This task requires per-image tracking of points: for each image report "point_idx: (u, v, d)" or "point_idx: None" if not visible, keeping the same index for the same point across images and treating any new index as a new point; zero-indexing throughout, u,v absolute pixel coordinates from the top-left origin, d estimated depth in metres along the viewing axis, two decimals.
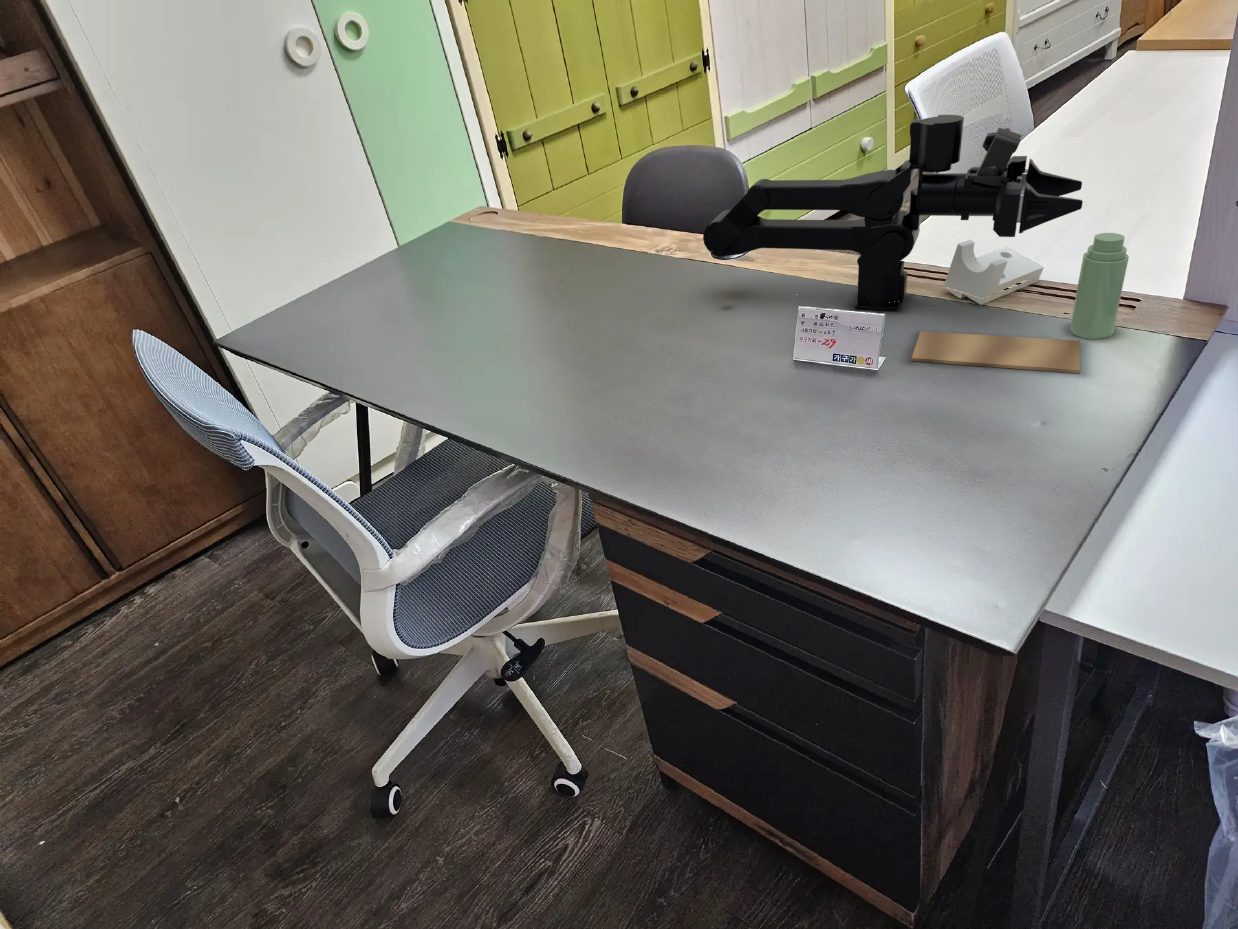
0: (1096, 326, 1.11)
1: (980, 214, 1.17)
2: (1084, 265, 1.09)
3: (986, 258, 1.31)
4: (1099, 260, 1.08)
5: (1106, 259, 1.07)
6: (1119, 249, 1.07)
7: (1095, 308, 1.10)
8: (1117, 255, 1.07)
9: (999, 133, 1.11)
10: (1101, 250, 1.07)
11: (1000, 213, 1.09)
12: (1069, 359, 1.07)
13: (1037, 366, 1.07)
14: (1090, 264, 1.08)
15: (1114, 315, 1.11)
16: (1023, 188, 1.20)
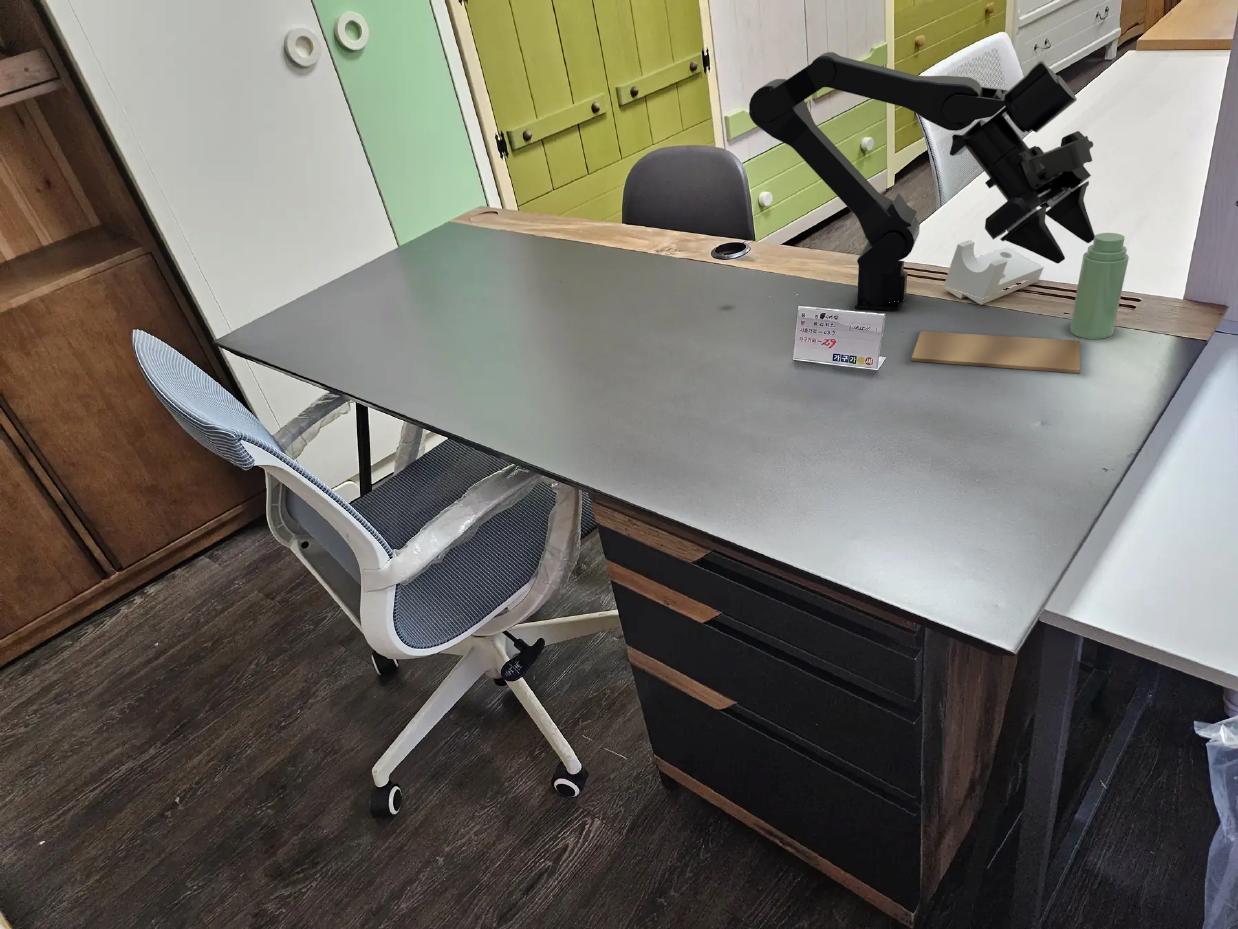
0: (1096, 326, 1.11)
1: (1001, 192, 1.14)
2: (1084, 265, 1.09)
3: (986, 258, 1.31)
4: (1099, 260, 1.08)
5: (1106, 259, 1.07)
6: (1119, 249, 1.07)
7: (1095, 308, 1.10)
8: (1117, 255, 1.07)
9: (1074, 144, 1.05)
10: (1101, 250, 1.07)
11: (1000, 212, 1.07)
12: (1069, 359, 1.07)
13: (1037, 366, 1.07)
14: (1090, 264, 1.08)
15: (1114, 315, 1.11)
16: (1058, 200, 1.16)
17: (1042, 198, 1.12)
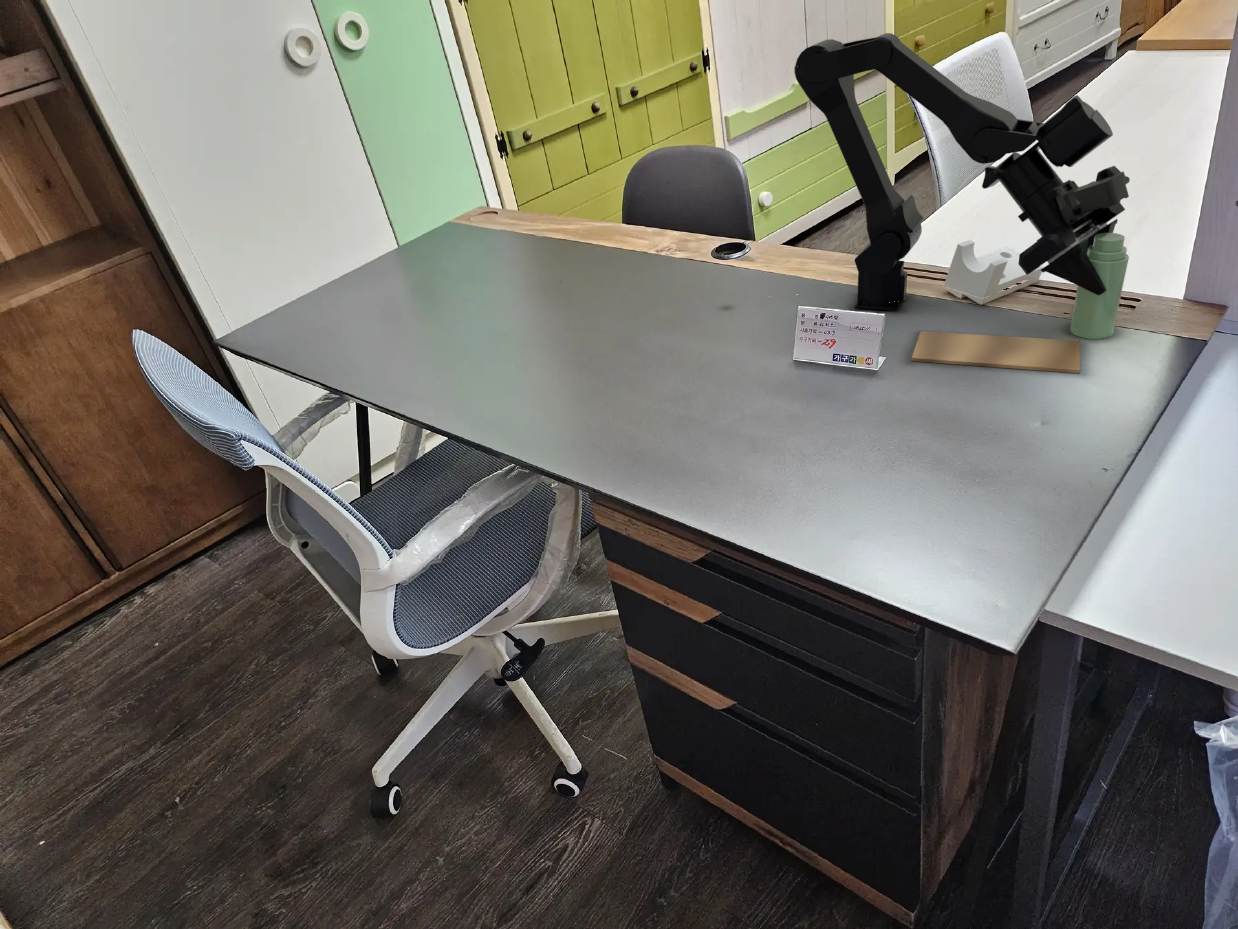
0: (1096, 326, 1.11)
1: (1034, 226, 1.12)
2: None
3: (986, 258, 1.31)
4: (1099, 260, 1.08)
5: (1106, 259, 1.07)
6: (1119, 249, 1.07)
7: (1095, 308, 1.10)
8: (1117, 255, 1.07)
9: (1111, 181, 1.03)
10: (1101, 250, 1.07)
11: (1035, 248, 1.06)
12: (1069, 359, 1.07)
13: (1037, 366, 1.07)
14: None
15: (1114, 315, 1.11)
16: (1085, 237, 1.13)
17: (1076, 233, 1.11)
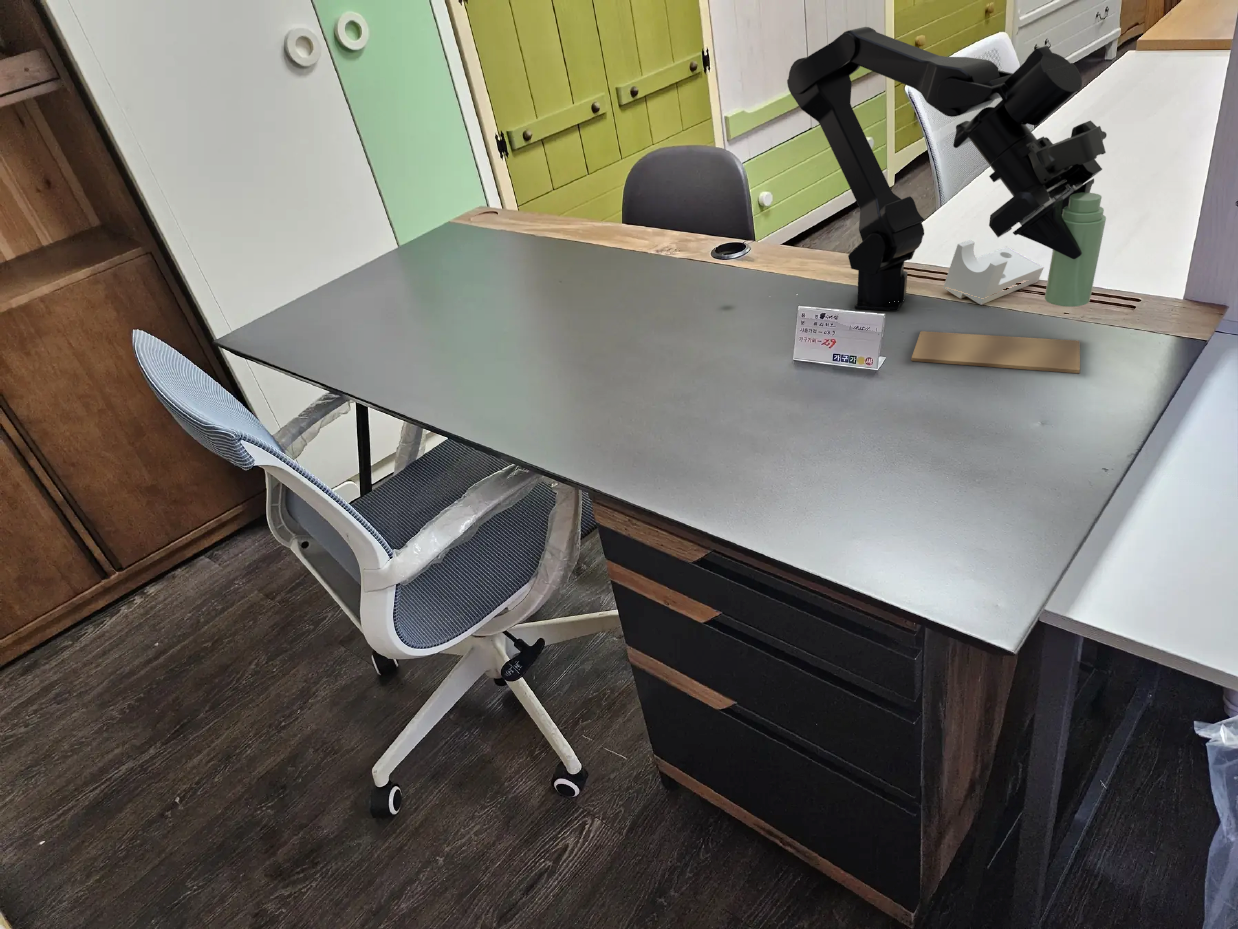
0: (1071, 293, 1.05)
1: None
2: None
3: (986, 258, 1.31)
4: (1075, 221, 1.01)
5: (1082, 220, 1.01)
6: (1096, 209, 1.00)
7: (1070, 273, 1.04)
8: (1094, 216, 1.00)
9: (1087, 135, 0.97)
10: (1077, 210, 1.01)
11: (1006, 208, 0.99)
12: (1069, 359, 1.07)
13: (1037, 366, 1.07)
14: None
15: (1091, 281, 1.04)
16: None
17: (1050, 193, 1.04)
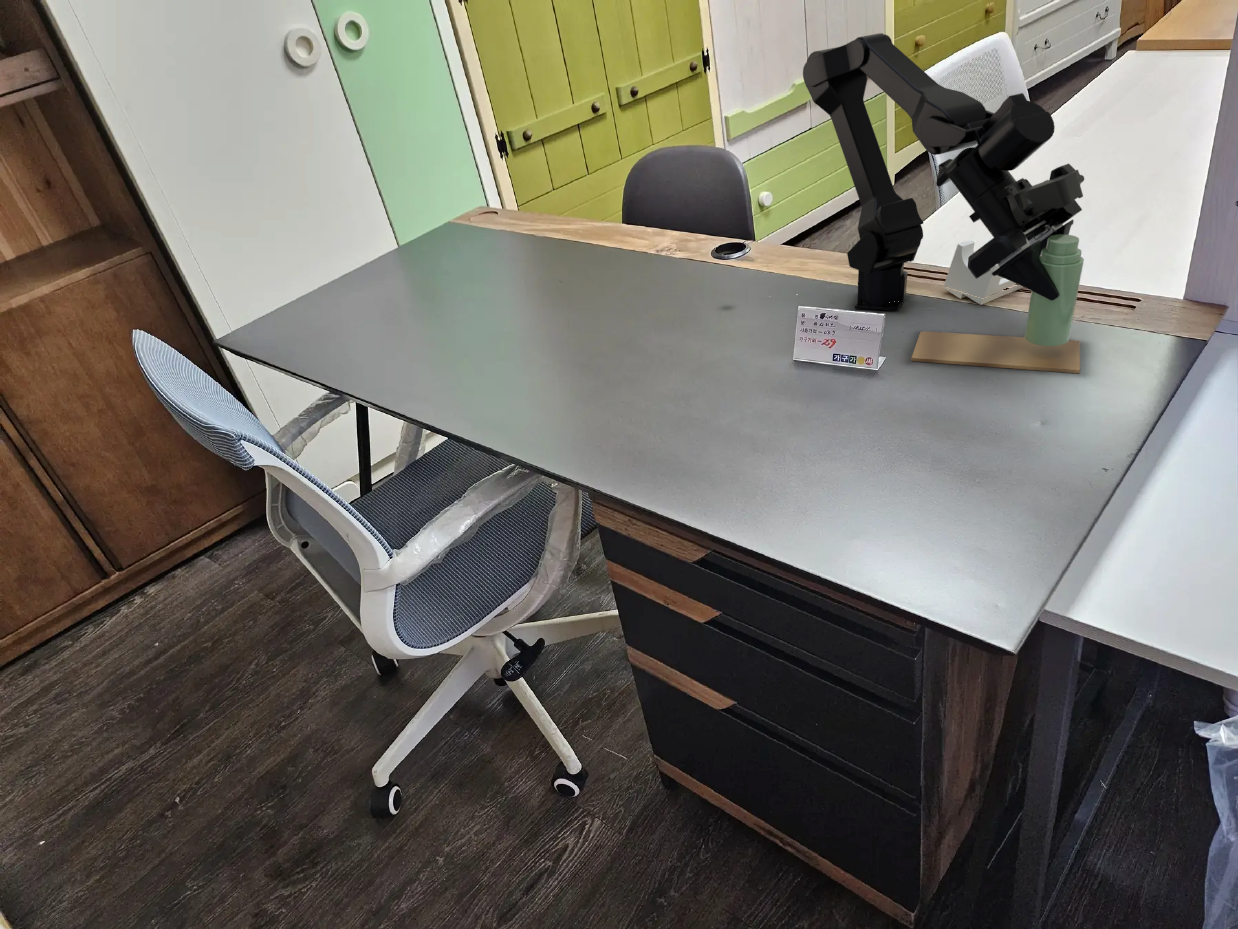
0: (1050, 333, 1.06)
1: (986, 227, 1.06)
2: None
3: None
4: (1052, 263, 1.02)
5: (1059, 262, 1.01)
6: (1073, 252, 1.01)
7: (1049, 314, 1.05)
8: (1071, 258, 1.01)
9: (1064, 180, 0.97)
10: (1054, 253, 1.02)
11: (984, 251, 1.00)
12: (1069, 359, 1.07)
13: (1037, 366, 1.07)
14: None
15: (1069, 321, 1.05)
16: (1040, 239, 1.07)
17: (1029, 234, 1.05)
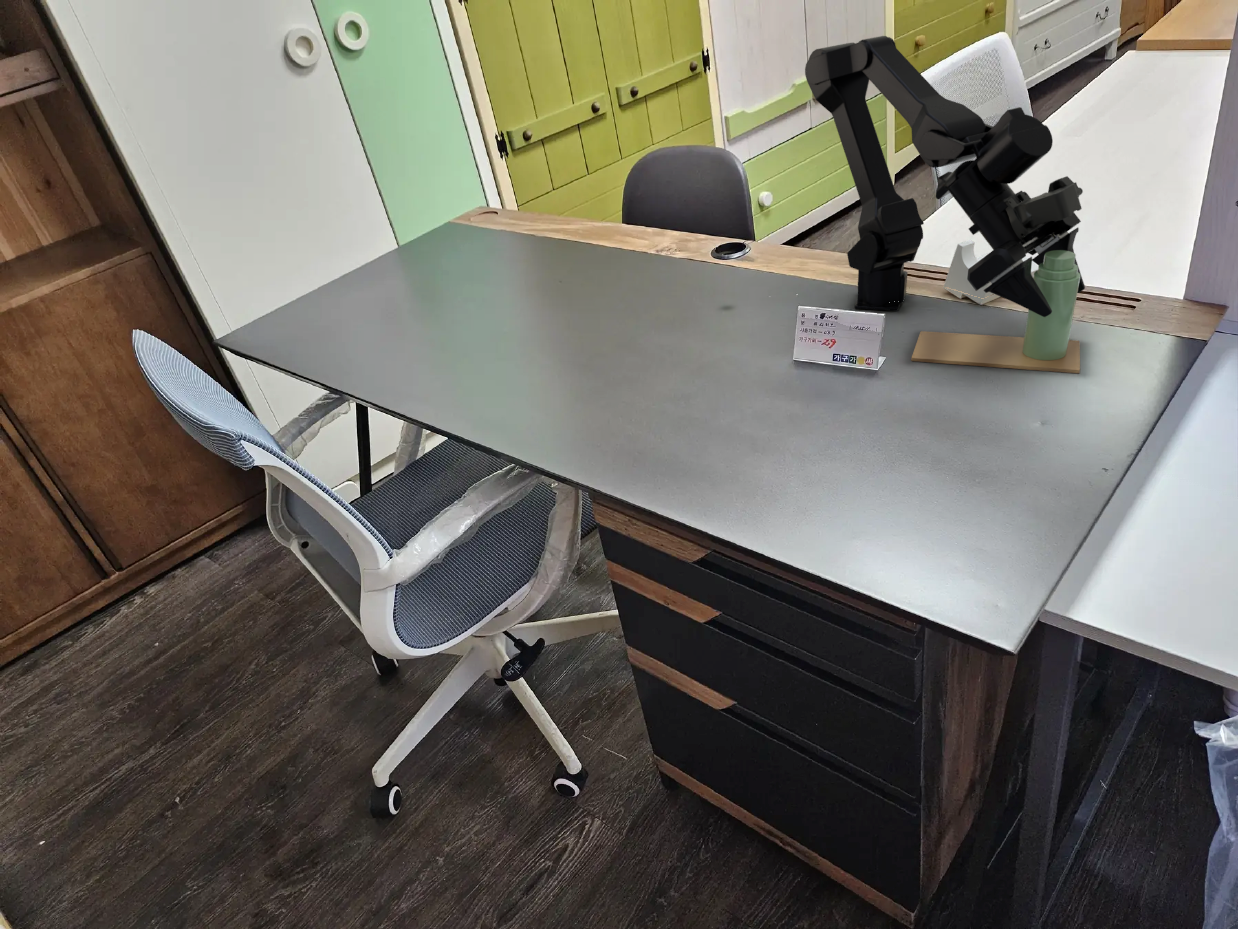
0: (1047, 348, 1.07)
1: (986, 239, 1.07)
2: None
3: None
4: (1049, 279, 1.03)
5: (1056, 278, 1.02)
6: (1070, 268, 1.02)
7: (1046, 328, 1.06)
8: (1068, 274, 1.02)
9: (1062, 193, 0.98)
10: (1051, 268, 1.03)
11: (983, 264, 1.01)
12: (1069, 359, 1.07)
13: (1037, 366, 1.07)
14: (1040, 283, 1.04)
15: (1066, 336, 1.06)
16: (1046, 246, 1.09)
17: (1029, 246, 1.06)
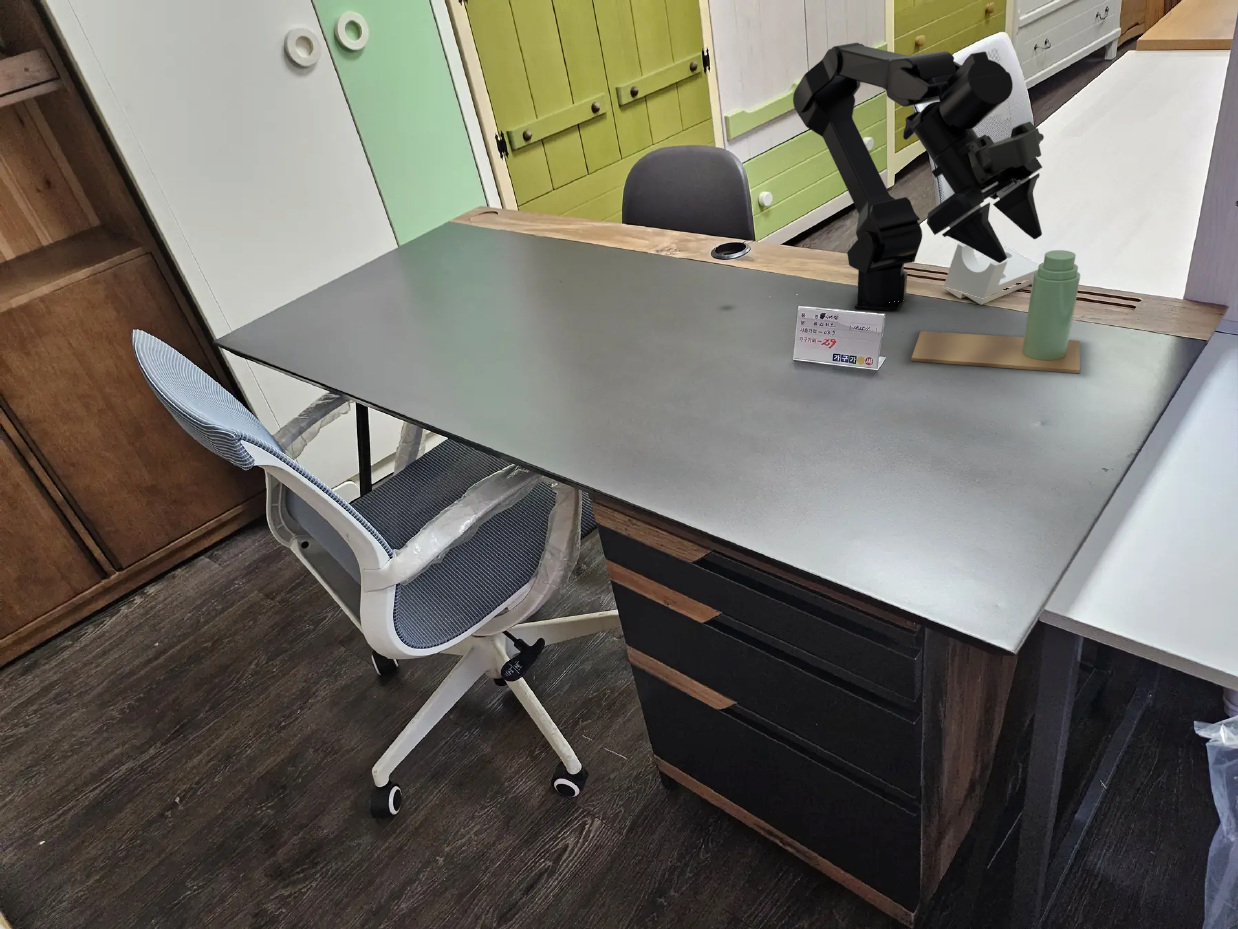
0: (1047, 348, 1.07)
1: (948, 183, 1.08)
2: (1034, 284, 1.05)
3: (986, 258, 1.31)
4: (1049, 279, 1.03)
5: (1056, 278, 1.02)
6: (1070, 268, 1.02)
7: (1046, 328, 1.06)
8: (1068, 274, 1.02)
9: (1022, 139, 0.99)
10: (1051, 268, 1.03)
11: (942, 208, 1.02)
12: (1069, 359, 1.07)
13: (1037, 366, 1.07)
14: (1040, 283, 1.04)
15: (1066, 336, 1.06)
16: (1007, 191, 1.11)
17: (989, 191, 1.07)
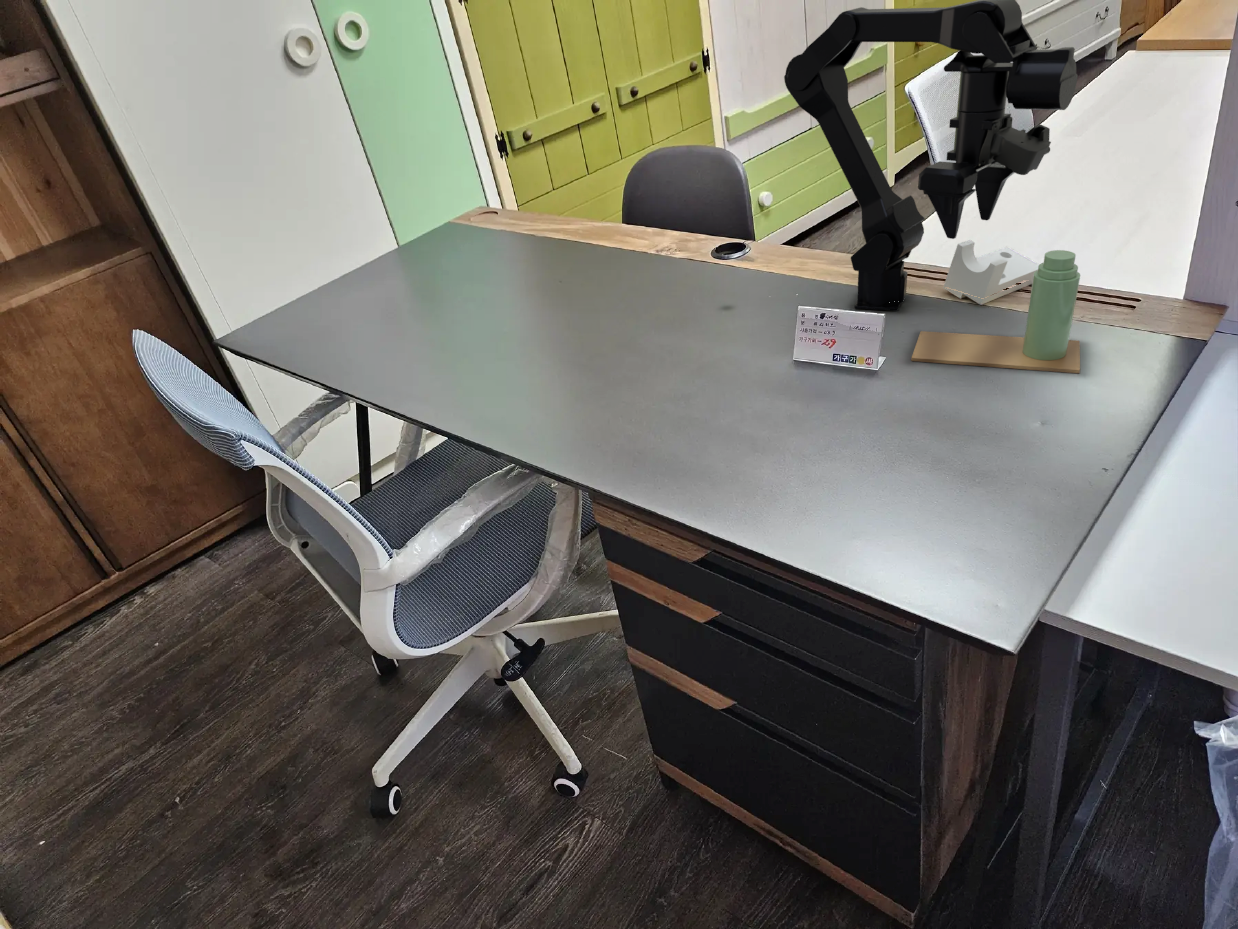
0: (1047, 348, 1.07)
1: (955, 138, 1.11)
2: (1034, 284, 1.05)
3: (986, 258, 1.31)
4: (1049, 279, 1.03)
5: (1056, 278, 1.02)
6: (1070, 268, 1.02)
7: (1046, 328, 1.06)
8: (1068, 274, 1.02)
9: (1035, 153, 1.04)
10: (1051, 268, 1.03)
11: (940, 175, 1.06)
12: (1069, 359, 1.07)
13: (1037, 366, 1.07)
14: (1040, 283, 1.04)
15: (1066, 336, 1.06)
16: (989, 165, 1.16)
17: None
